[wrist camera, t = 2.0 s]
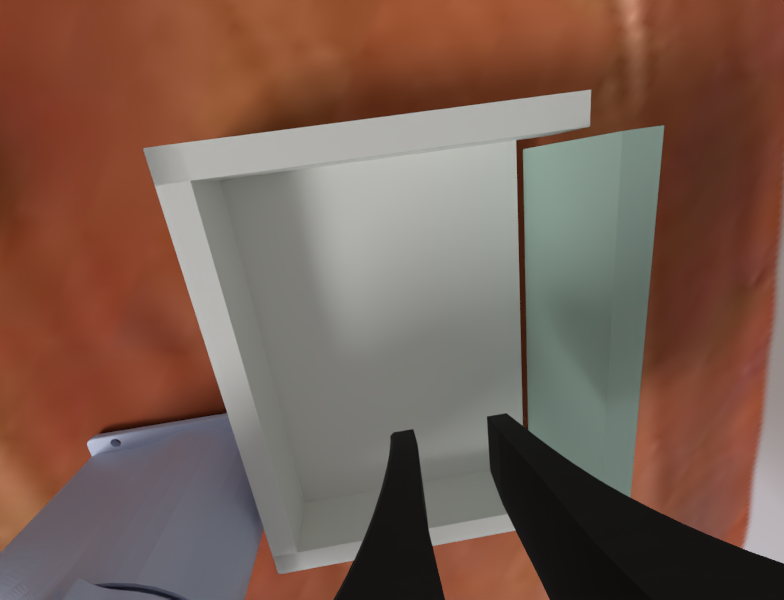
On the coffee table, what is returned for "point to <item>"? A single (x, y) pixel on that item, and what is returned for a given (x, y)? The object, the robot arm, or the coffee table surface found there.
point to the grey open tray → (361, 307)
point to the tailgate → (589, 293)
